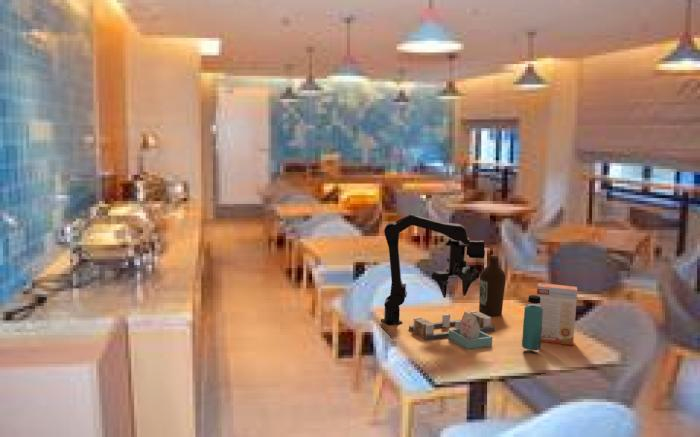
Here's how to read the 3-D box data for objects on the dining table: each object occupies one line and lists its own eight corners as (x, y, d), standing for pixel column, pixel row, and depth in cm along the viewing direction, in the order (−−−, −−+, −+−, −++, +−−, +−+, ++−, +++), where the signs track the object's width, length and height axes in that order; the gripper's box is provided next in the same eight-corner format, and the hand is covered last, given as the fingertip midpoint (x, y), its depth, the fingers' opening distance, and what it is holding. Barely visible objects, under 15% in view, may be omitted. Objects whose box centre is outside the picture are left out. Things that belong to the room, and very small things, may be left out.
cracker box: (573, 341, 235) (577, 286, 232) (573, 346, 229) (578, 289, 226) (533, 335, 240) (538, 281, 237) (532, 340, 234) (537, 285, 231)
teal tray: (448, 339, 232) (448, 329, 232) (471, 335, 237) (471, 326, 236) (468, 349, 221) (468, 340, 221) (491, 346, 226) (492, 337, 225)
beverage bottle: (541, 355, 218) (545, 299, 216) (521, 353, 220) (525, 297, 217) (539, 349, 225) (544, 294, 222) (520, 347, 226) (524, 292, 223)
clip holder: (408, 329, 241) (409, 317, 241) (475, 321, 255) (475, 309, 254) (426, 340, 230) (427, 326, 229) (495, 331, 243) (495, 318, 243)
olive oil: (496, 309, 274) (500, 252, 270) (507, 316, 263) (512, 257, 260) (473, 310, 271) (477, 252, 268) (484, 317, 261) (488, 257, 257)
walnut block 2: (470, 325, 250) (471, 313, 249) (479, 324, 252) (480, 312, 251) (480, 330, 244) (481, 317, 244) (488, 329, 246) (489, 316, 245)
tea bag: (467, 337, 233) (469, 311, 232) (478, 343, 227) (480, 316, 226) (459, 338, 232) (460, 312, 230) (470, 344, 226) (472, 317, 224)
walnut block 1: (414, 332, 239) (415, 319, 238) (423, 331, 240) (424, 318, 240) (422, 337, 233) (423, 324, 233) (432, 336, 235) (432, 323, 234)
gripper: (448, 263, 232) (446, 304, 234) (489, 259, 240) (486, 299, 242) (431, 257, 242) (429, 296, 244) (471, 254, 250) (469, 292, 252)
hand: (454, 296), depth 245 cm, fingers open, 9 cm apart
